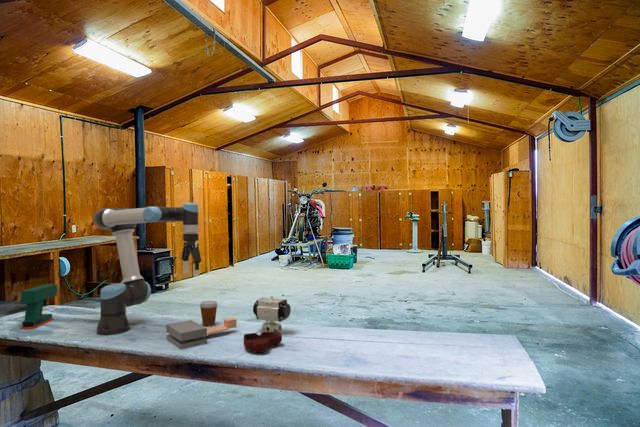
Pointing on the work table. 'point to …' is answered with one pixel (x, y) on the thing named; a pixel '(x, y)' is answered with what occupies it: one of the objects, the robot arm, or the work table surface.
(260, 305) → the ball valve
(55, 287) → the power tool
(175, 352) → the work table surface
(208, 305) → the disposable coffee cup
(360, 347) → the work table surface
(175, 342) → the block
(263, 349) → the ashtray
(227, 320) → the orange stepped block
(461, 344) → the work table surface
